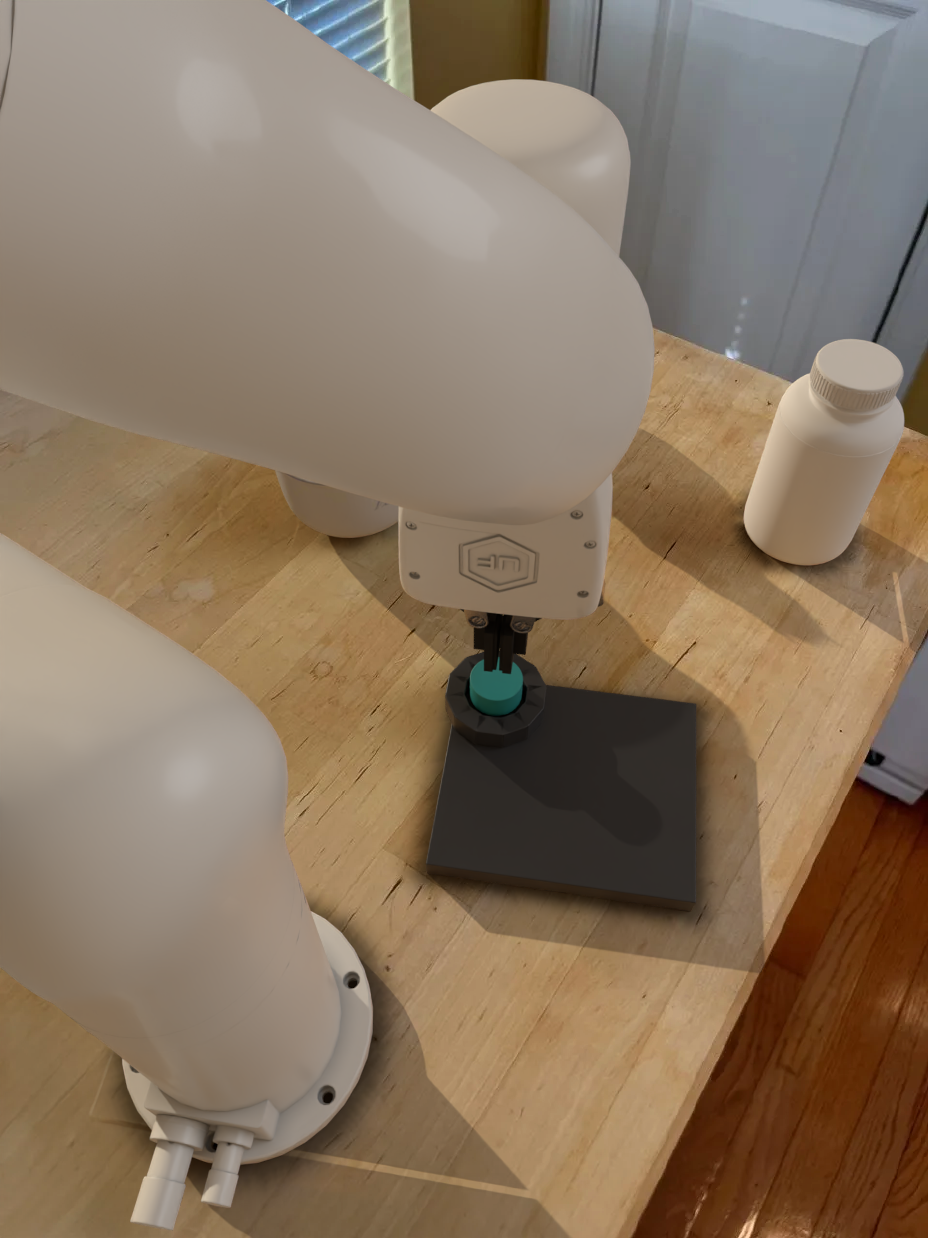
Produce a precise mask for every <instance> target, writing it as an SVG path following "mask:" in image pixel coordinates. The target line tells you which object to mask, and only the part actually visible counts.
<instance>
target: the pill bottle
mask: <svg viewBox="0 0 928 1238" xmlns="http://www.w3.org/2000/svg"><path fill="white" fill-rule="evenodd" d="M903 379H904V367H903V364H902V363H901V361H900V359H899V358H898V356H896V354H894V353H893V352H892V351H891V350H889V349H888V348H886V347H885V346H882V345H880V344H878V343H876V342H872V341H868V340H864V339H858V338H857V339H856V338H845V339H838V340H835V341H832V342H829V343H827V344H826V345H824V346H822V347H821V349H819V350H818V352H817V353H816V355H815V357H814V360H813V363H812V366H811V369H810V372H809V373H806V374H805V375H802V376H801V377H799V378H798V379H796V380H794V382H793V383H792V384H790V385H789V386H788V388H786V390H785V391H784V393H783V394H782V396H781V398H780V400H779V403H778V406H777V408H776V411H775V414H774V417H773V419H772V424H771V427H770V429H769V433H768V435H767V439H766V441H765V445H764V447H763V451H762V454H761V457H760V460H759V462H758V466H757V469H756V471H755V474H754V478H753V481H752V484H751V487H750V490H749V493H748V496H747V499H746V502H745V505H744V512H743V525H744V527H745V531H746V533H747V535H748V537H749V538H750V540H751V541H752V543H753V544H754V545H755V546H756V547H757V548H759V550H761V551H762V552H763V553H765V554H766V555H768V556H770V557H771V558H774V559H776V560H777V561H780V562H784V563H788V564H792V565H797V566H816V565H823V564H825V563H828V562H830V561H833V560H834V559H837V558H838V557H839V556H841V555H842V553H844V551H845V550H847V548H848V547H849V545H850V543H851V542H852V540H853V538H854V536H855V534H856V532H857V530H858V528H859V527H860V524H861V523H862V520H863V518H864V516H865V514H866V511H867V509H868V507H869V505H870V504H871V501H872V499H873V497H874V495H875V493H876V491H877V489H878V487H879V485H880V482H881V480H882V479H883V477H884V475H885V472H886V471H887V468H888V466H889V464H890V462H891V460H892V458H893V456H894V454H895V452H896V450H897V447H898V445H899V444H900V441H901V440H902V439H901V438H902V437H903V434H904V430H905V413H904V409H903V406H902V404H901V402H900V400H899V399H898V397H897V393H898V390H899V389H900V386H901V383H902V381H903Z"/></svg>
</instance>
